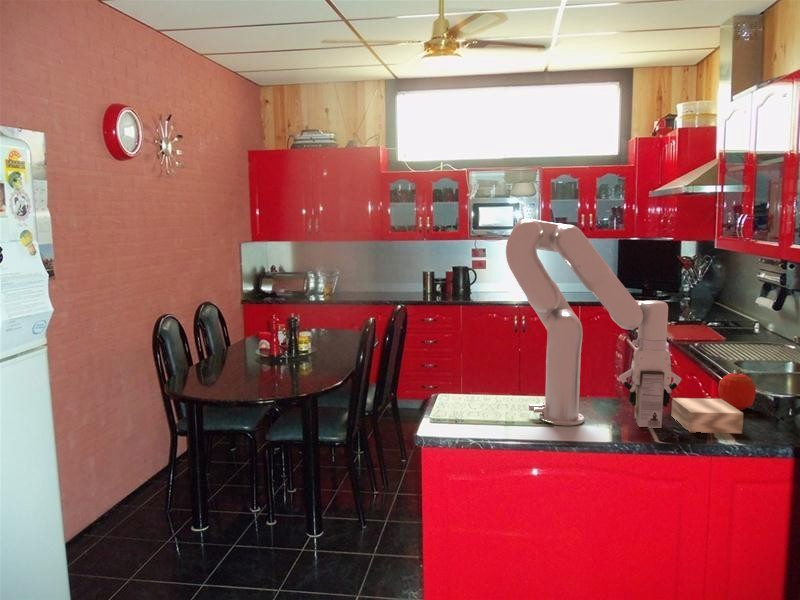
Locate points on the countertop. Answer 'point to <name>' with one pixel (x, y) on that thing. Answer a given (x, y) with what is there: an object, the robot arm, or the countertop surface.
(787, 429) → the countertop surface
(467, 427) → the countertop surface
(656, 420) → the coffee box
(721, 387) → the apple
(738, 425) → the beech block
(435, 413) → the countertop surface
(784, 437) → the countertop surface
